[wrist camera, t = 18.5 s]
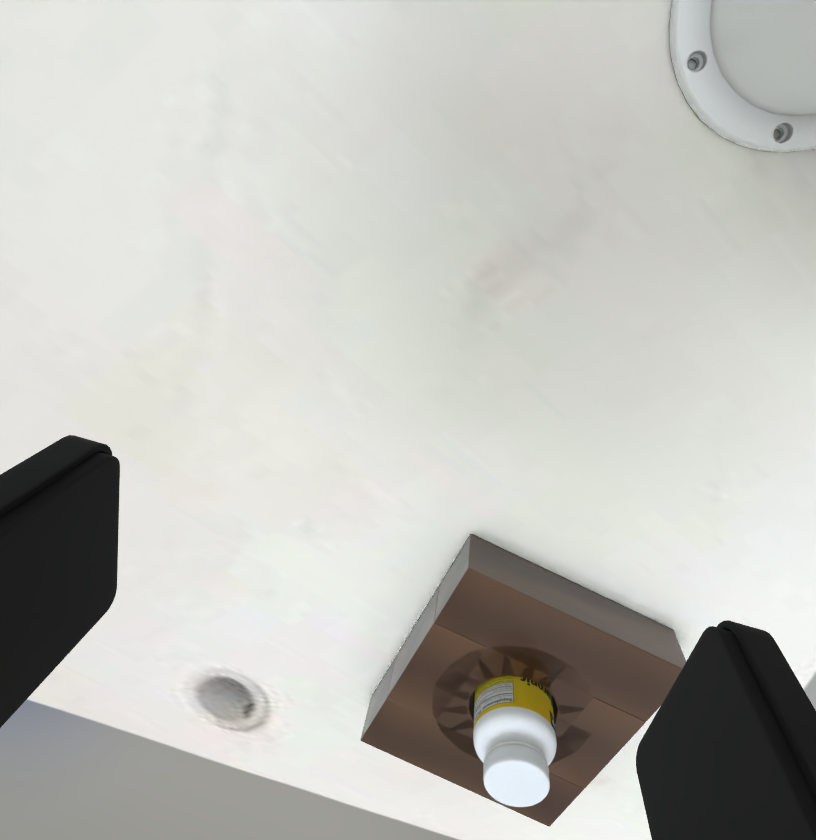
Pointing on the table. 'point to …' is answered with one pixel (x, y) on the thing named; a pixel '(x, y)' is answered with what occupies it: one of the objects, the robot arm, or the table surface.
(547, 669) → the holder block
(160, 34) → the table surface
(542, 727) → the supplement bottle
